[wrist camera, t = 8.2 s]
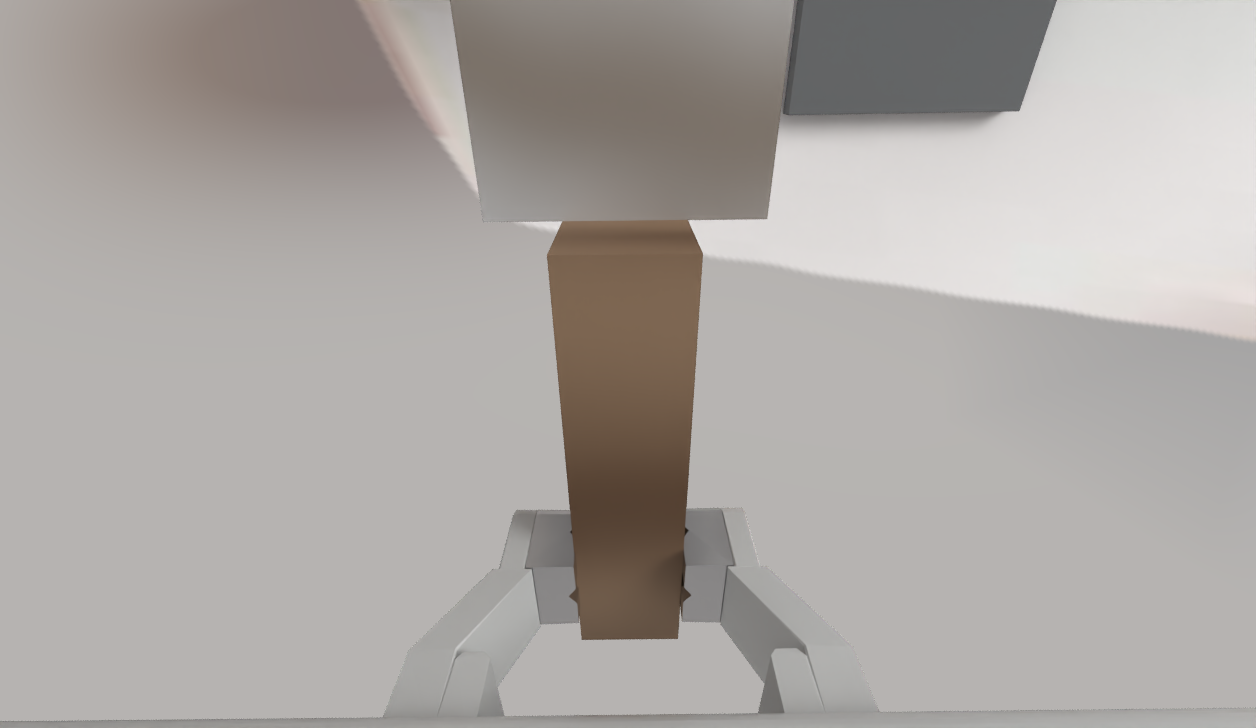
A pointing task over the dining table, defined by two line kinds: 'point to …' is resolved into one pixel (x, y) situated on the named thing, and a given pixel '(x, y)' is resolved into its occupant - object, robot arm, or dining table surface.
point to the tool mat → (913, 55)
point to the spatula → (624, 240)
